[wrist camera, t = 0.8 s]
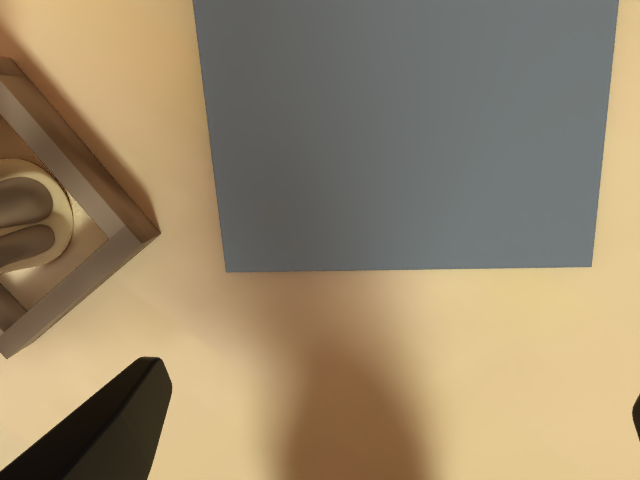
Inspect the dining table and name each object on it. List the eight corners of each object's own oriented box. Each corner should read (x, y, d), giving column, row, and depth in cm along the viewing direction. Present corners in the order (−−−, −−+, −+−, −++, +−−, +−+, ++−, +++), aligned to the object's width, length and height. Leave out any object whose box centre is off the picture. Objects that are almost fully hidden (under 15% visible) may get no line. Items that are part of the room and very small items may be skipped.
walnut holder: (160, 233, 24) (141, 243, 22) (33, 342, 27) (6, 359, 25) (11, 58, 22) (-24, 52, 20) (-106, 194, 25) (-146, 200, 23)
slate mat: (587, 264, 21) (591, 266, 21) (228, 270, 24) (226, 272, 23) (633, -191, 17) (639, -199, 16) (181, -123, 19) (177, -128, 19)
